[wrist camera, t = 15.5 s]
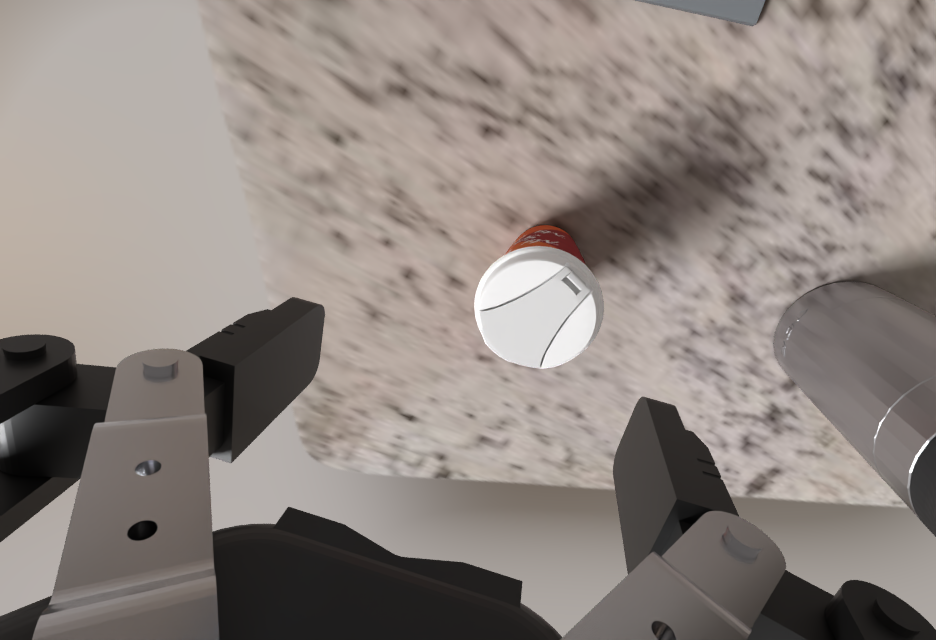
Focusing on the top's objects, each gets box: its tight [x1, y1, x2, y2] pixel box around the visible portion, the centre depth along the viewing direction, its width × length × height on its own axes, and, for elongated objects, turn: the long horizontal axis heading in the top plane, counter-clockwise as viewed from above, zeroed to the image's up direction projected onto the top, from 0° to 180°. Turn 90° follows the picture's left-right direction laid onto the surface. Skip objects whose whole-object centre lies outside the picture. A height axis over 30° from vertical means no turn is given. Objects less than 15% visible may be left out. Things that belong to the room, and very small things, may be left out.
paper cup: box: [474, 225, 604, 369], centre depth 35 cm, size 8×8×14 cm
